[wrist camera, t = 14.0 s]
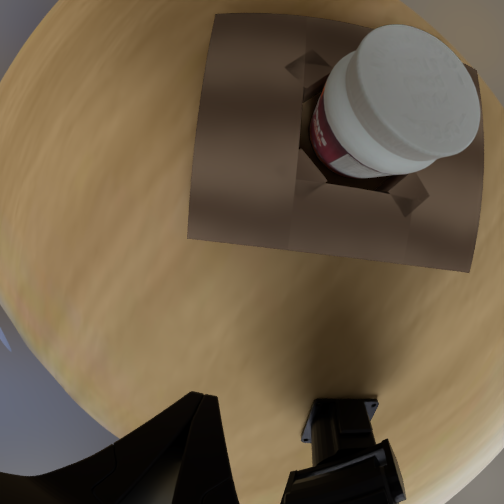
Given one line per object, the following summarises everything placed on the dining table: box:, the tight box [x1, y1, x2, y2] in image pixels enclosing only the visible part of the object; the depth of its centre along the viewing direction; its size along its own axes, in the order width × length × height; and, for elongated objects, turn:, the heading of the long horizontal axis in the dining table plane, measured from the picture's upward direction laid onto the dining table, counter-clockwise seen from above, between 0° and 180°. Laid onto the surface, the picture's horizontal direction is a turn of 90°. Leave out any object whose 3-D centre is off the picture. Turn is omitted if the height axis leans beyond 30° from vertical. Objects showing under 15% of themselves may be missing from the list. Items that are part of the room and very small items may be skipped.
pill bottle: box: [310, 24, 480, 179], centre depth 12 cm, size 6×6×11 cm
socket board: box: [187, 13, 484, 273], centre depth 16 cm, size 16×20×3 cm
